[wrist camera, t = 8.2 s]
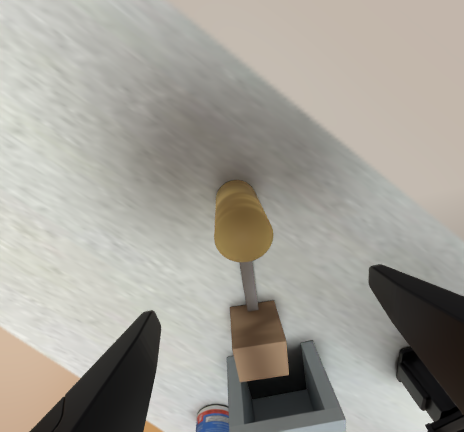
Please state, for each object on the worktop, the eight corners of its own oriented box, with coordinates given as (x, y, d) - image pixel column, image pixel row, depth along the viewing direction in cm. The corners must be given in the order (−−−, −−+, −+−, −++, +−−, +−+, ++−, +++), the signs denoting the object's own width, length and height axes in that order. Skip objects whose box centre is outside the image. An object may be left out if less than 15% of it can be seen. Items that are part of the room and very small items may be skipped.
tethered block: (261, 175, 19) (282, 203, 13) (277, 331, 27) (295, 397, 20) (204, 184, 19) (197, 217, 13) (236, 337, 27) (241, 405, 21)
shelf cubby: (312, 340, 28) (345, 419, 20) (317, 393, 32) (346, 473, 25) (226, 357, 28) (229, 440, 21) (244, 407, 33) (251, 489, 25)
